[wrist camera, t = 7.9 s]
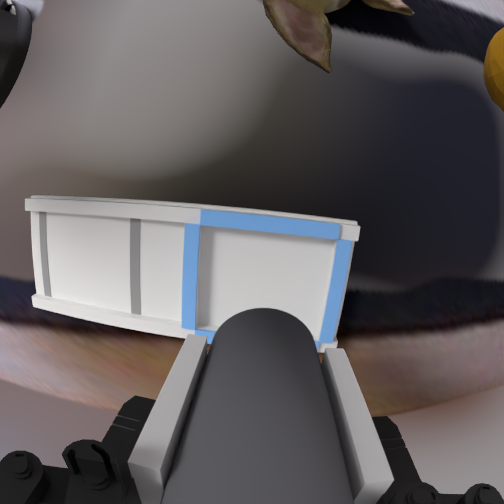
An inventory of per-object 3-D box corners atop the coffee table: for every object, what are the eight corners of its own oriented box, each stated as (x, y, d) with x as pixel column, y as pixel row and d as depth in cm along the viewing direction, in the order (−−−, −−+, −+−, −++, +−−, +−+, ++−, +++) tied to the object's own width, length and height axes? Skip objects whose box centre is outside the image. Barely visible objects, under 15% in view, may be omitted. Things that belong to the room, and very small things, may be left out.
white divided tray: (34, 194, 22) (22, 196, 20) (355, 220, 21) (362, 224, 20) (41, 303, 24) (31, 309, 23) (331, 346, 24) (335, 357, 22)
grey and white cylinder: (210, 299, 13) (99, 561, 2) (327, 311, 13) (422, 570, 2) (206, 390, 14) (149, 605, 3) (307, 400, 14) (334, 616, 3)
